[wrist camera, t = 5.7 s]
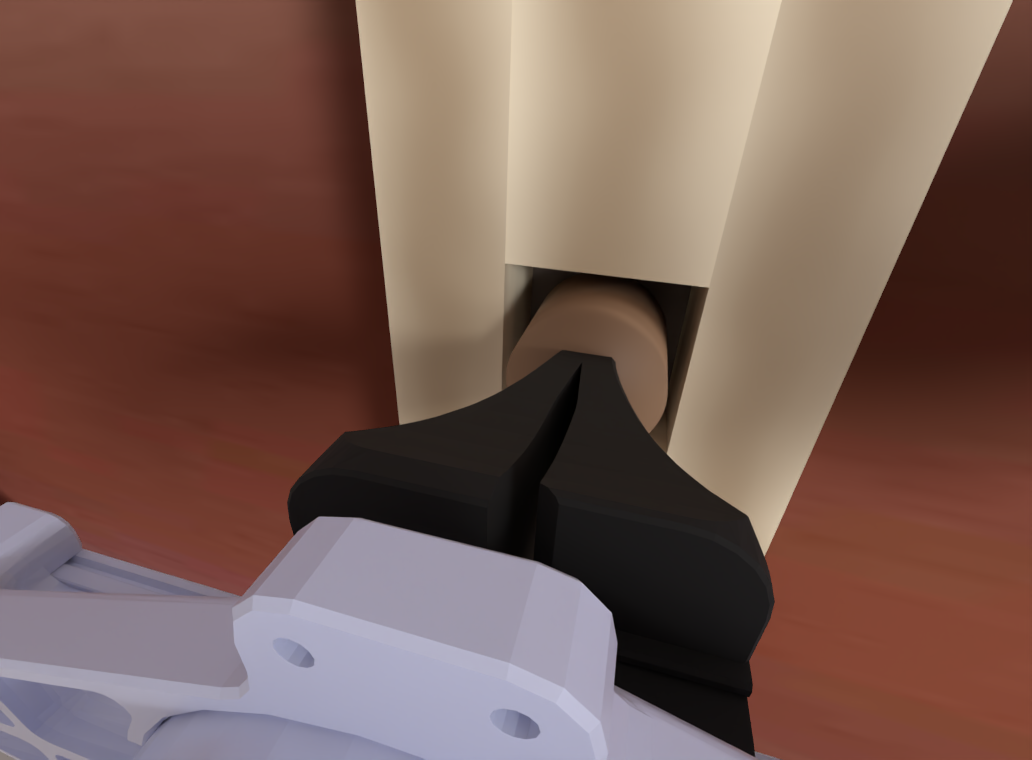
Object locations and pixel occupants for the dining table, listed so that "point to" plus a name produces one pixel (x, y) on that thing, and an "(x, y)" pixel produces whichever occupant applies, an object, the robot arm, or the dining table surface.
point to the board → (662, 193)
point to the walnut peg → (602, 336)
